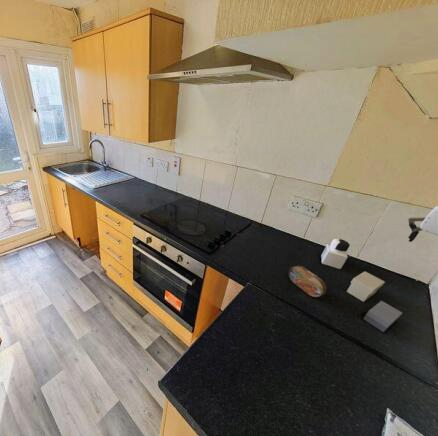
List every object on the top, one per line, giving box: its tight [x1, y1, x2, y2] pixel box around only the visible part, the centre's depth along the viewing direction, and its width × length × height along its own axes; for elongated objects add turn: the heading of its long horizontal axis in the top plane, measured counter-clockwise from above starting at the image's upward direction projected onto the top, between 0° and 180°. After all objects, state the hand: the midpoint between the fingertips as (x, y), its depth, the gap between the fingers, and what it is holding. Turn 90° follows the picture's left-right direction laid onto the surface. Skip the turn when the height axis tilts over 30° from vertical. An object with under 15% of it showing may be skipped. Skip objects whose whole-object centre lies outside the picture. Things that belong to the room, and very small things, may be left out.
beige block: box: [346, 283, 379, 303], centre depth 96 cm, size 6×10×5 cm, turn 118°
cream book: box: [350, 271, 386, 294], centre depth 94 cm, size 7×10×2 cm
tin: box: [288, 265, 327, 298], centre depth 96 cm, size 15×3×8 cm, turn 21°
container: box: [320, 238, 351, 270], centre depth 111 cm, size 8×8×13 cm
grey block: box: [362, 300, 403, 333], centre depth 84 cm, size 6×10×5 cm, turn 118°
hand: (428, 247), depth 84 cm, fingers open, 9 cm apart
